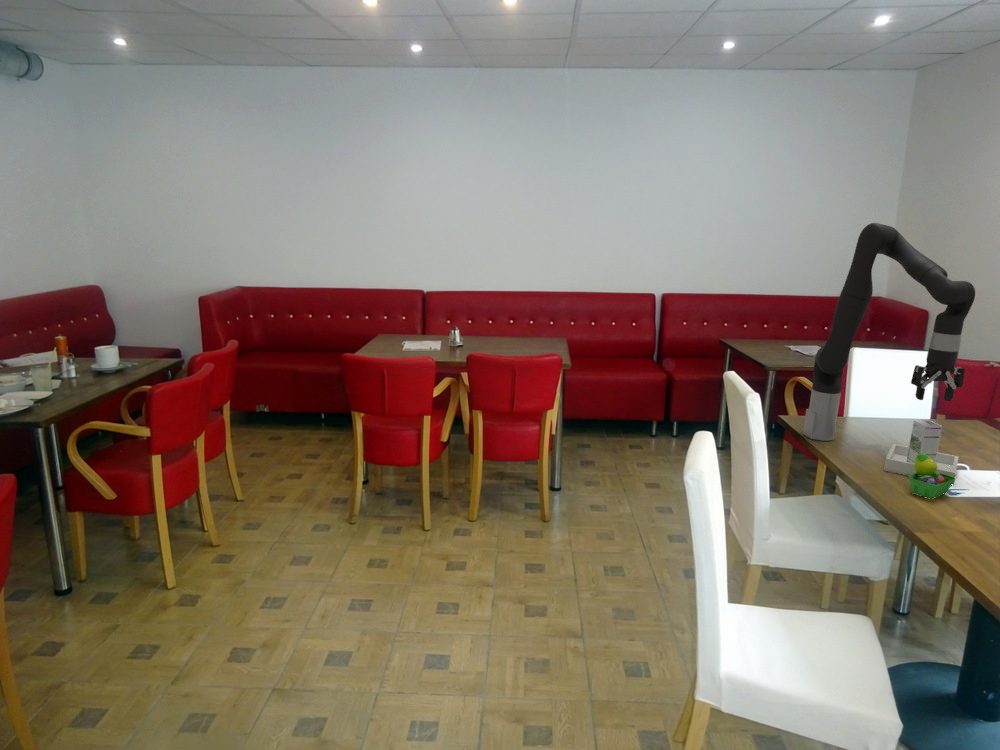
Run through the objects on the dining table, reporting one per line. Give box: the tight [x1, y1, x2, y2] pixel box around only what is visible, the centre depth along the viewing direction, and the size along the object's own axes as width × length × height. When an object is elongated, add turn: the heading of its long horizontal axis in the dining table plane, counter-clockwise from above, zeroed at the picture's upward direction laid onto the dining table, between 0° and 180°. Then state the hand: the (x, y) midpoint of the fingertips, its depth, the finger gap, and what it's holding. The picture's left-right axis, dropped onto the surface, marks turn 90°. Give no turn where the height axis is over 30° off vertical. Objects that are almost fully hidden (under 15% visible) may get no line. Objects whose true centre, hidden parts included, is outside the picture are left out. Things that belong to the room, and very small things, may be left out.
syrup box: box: [907, 419, 943, 464], centre depth 202 cm, size 6×6×14 cm
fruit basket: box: [908, 453, 956, 500], centre depth 185 cm, size 11×9×11 cm
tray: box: [883, 443, 959, 485], centre depth 203 cm, size 18×18×4 cm
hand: (933, 399), depth 198 cm, fingers open, 8 cm apart
